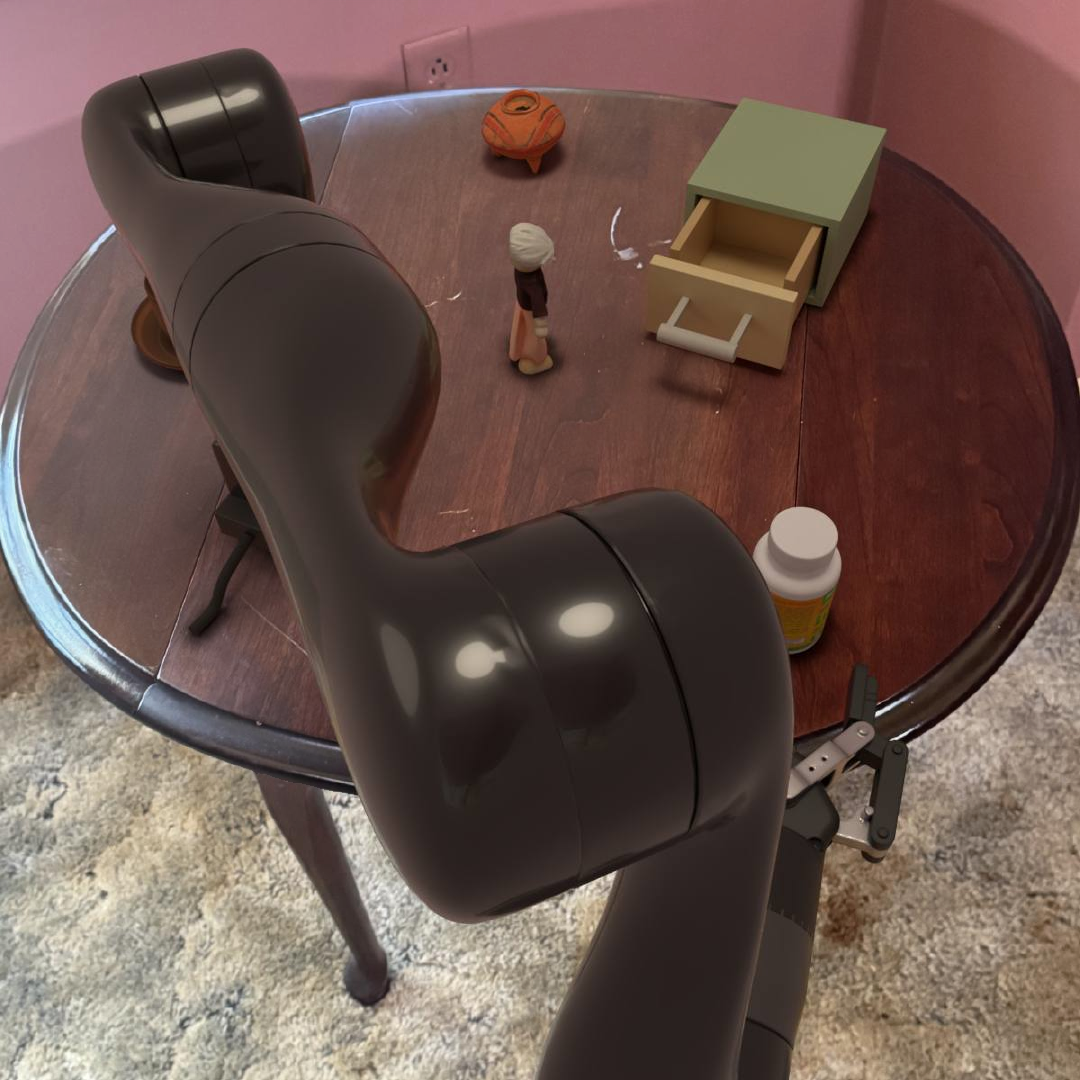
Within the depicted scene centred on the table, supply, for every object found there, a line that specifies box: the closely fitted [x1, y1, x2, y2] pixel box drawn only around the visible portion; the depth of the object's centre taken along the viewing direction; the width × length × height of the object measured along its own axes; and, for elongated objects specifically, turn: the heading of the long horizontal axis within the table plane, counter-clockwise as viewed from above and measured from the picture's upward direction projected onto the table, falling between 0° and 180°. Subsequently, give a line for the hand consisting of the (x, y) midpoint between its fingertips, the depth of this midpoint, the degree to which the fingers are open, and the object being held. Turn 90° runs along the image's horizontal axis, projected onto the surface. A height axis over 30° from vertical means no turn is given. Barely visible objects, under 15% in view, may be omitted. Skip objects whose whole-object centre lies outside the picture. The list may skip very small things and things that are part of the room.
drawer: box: [645, 196, 829, 370], centre depth 88 cm, size 17×11×7 cm, turn 154°
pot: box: [481, 88, 567, 174], centre depth 105 cm, size 8×8×7 cm
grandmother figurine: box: [508, 222, 555, 375], centre depth 85 cm, size 8×4×13 cm, turn 21°
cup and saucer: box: [130, 275, 183, 371], centre depth 90 cm, size 12×12×6 cm
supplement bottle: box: [752, 506, 842, 655], centre depth 70 cm, size 5×5×10 cm
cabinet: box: [683, 97, 888, 308], centre depth 94 cm, size 14×13×9 cm
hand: (781, 653), depth 63 cm, fingers open, 8 cm apart
